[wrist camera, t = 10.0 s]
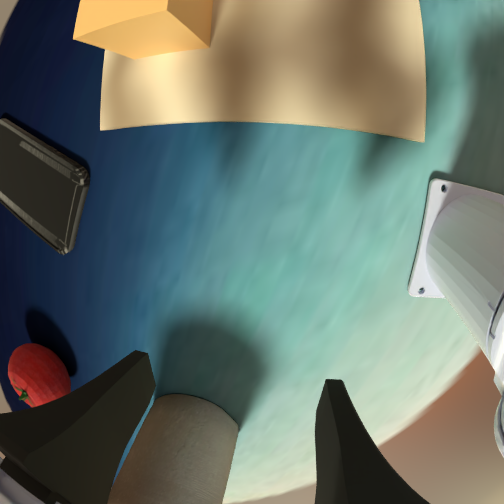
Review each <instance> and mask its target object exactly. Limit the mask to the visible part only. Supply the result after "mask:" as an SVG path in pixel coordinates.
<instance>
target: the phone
mask: <svg viewBox="0 0 504 504" xmlns="http://www.w3.org/2000/svg"><path fill="white" fill-rule="evenodd" d="M89 185H90V177H89V173H88V171H87V170H86V169H85V168H84V167H83V166H82V165H80V164H78V163H77V162H75V161H74V160H72V159H70V158H68V157H67V156H66V155H64V154H63V153H61V152H59V151H57V150H56V149H55V148H53V147H51V146H49V145H47V144H46V143H44V142H43V141H41V140H39V139H38V138H36V137H34V136H33V135H31V134H30V133H28V132H26V131H25V130H23V129H22V128H20V127H18V126H17V125H15V124H14V123H12V122H10V121H9V120H7V119H0V202H1V203H2V204H3V205H4V206H5V207H6V208H7V209H8V210H9V211H10V212H11V213H12V214H13V215H15V216H16V217H17V218H18V219H19V220H20V221H21V222H22V223H24V224H25V225H26V226H27V227H28V228H29V229H30V230H32V231H33V232H34V233H35V234H36V235H37V236H39V237H40V238H41V239H42V240H43V241H45V242H46V243H47V244H48V245H49V246H51V247H52V248H53V249H54V250H56V251H57V252H58V253H60V254H66V253H68V252H70V251H71V250H72V249H73V248H74V245H75V241H76V236H77V232H78V227H79V223H80V219H81V215H82V211H83V207H84V203H85V200H86V196H87V193H88V189H89Z"/></svg>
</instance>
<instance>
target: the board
mask: <svg viewBox="0 0 504 504" xmlns="http://www.w3.org/2000/svg"><path fill="white" fill-rule="evenodd" d="M425 121H426V66H425V49H424V37H423V27H422V19H421V11H420V5H419V0H213V8H212V20H211V34H210V48H205V49H195V50H187V51H179V52H172V53H166V54H160V55H155V56H149V57H144V58H139V59H135V60H134V59H131V58H129V57H126V56H123V55H121V54H118V53H115V52H112V51H109V50H106V49H105V56H104V66H103V77H102V92H101V116H100V130H112V129H120V128H128V127H138V126H148V125H160V124H175V123H195V122H262V123H283V124H298V125H310V126H321V127H330V128H339V129H346V130H354V131H361V132H367V133H374V134H380V135H385V136H391V137H396V138H401V139H406V140H411V141H416V142H424V140H425Z"/></svg>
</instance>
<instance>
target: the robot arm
mask: <svg viewBox="0 0 504 504" xmlns="http://www.w3.org/2000/svg"><path fill="white" fill-rule="evenodd" d="M443 184H444V185H445V190H444V191H441V187H442V185H443ZM422 287H423V289H422V290H421V291H419V289H420V288H422ZM408 293H409V294H410V295H411V296H413V297H431V298H446V299H447V301H448V302H449V303H450V305H451V306H452V307H453V309H454V310H455V311H456V313H457V314H458V316H459V317H460V318H461V320H462V321H463V323H464V324H465V325H466V327H467V328H468V330H469V331H470V333H471V334H472V336H473V337H474V339H475V340H476V342H477V343H478V345H479V346H480V348H481V349H482V351H483V352H484V354H485V355H486V357H487V359H488V360H489V362H490V363H491V365H492V367H493V368H494V370H495V377H494V382H495V384H496V386H497V387H498V390H499V391H500V393H501V395H502V398H501V400H500V402H499V405H498V407H497V410H496V414H495V420H494V434H495V439H496V443H497V445H498V448H499V451H500V452H501V454H502V455H503V457H504V195H502V194H498V193H495V192H491V191H488V190H484V189H480V188H476V187H472V186H468V185H464V184H460V183H456V182H451V181H447V180H442V179H437V178H434V179H432V180H431V181H430V184H429V189H428V196H427V203H426V209H425V215H424V220H423V225H422V231H421V236H420V240H419V245H418V249H417V254H416V258H415V262H414V266H413V270H412V274H411V278H410V281H409V285H408ZM155 387H156V384H155V380H154V376H153V372H152V368H151V364H150V360H149V356H148V353H145V352H141V351H137V350H135V351H133V352H132V353H130V354H129V355H128V356H126V357H125V358H123V359H122V360H121V361H119V362H118V363H117V364H115V365H114V366H112V367H111V368H109V369H108V370H107V371H105V372H104V373H102V374H101V375H99V376H98V377H96V378H95V379H93V380H91V381H90V382H88V383H86V384H85V385H83V386H82V387H80V388H78V389H76V390H74V391H73V392H71V393H69V394H67V395H64V396H62V397H60V398H58V399H55V400H53V401H50V402H48V403H45V404H42V405H39V406H36V407H33V408H29V409H25V410H21V411H16V412H9V413H2V414H0V451H1V452H2V453H3V454H4V455H5V456H6V457H5V458H4V460H3V459H2V458H1V457H0V504H107V503H108V499H109V495H110V491H111V487H112V484H113V480H114V477H115V474H116V471H117V468H118V466H119V463H120V460H121V458H122V455H123V452H124V450H125V448H126V446H127V444H128V442H129V440H130V438H131V436H132V434H133V433H134V431H135V429H136V427H137V425H138V424H139V422H140V420H141V418H142V416H143V414H144V413H145V411H146V409H147V407H148V405H149V403H150V400H151V398H152V395H153V392H154V390H155ZM315 446H316V471H317V486H316V497H315V504H430V503H429V502H427V501H426V500H425V499H423V498H422V497H421V496H420V495H419V494H418V493H417V492H415V491H414V490H413V489H412V488H411V487H410V486H409V485H408V484H407V483H406V482H405V481H404V480H403V479H402V478H401V477H400V476H399V475H398V473H396V471H395V470H394V469H393V468H392V467H391V466H390V464H389V463H388V462H387V460H386V459H385V458H384V457H383V455H382V454H381V452H380V451H379V449H378V448H377V446H376V445H375V443H374V442H373V440H372V439H371V437H370V435H369V434H368V432H367V430H366V429H365V427H364V425H363V423H362V421H361V419H360V418H359V416H358V414H357V412H356V410H355V408H354V406H353V404H352V401H351V399H350V397H349V395H348V392H347V390H346V388H345V385H344V382H343V381H342V380H335V379H326V381H325V384H324V387H323V391H322V394H321V397H320V400H319V404H318V407H317V410H316V423H315Z"/></svg>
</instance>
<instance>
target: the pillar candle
mask: <svg viewBox="0 0 504 504" xmlns="http://www.w3.org/2000/svg"><path fill="white" fill-rule="evenodd" d="M238 431H239V429H238V425H237V423H236V422H235V421H234V420H233V419H232V418H231V417H230V416H229V415H228V414H227V413H226V412H225V411H224V410H223V409H221V408H220V407H218V406H217V405H215V404H213V403H211V402H209V401H206V400H204V399H200V398H197V397H194V396H189V395H183V394H170V395H165V396H162V397H159V398H157V399H156V400H155V401H154V403H153V405H152V407H151V409H150V411H149V413H148V415H147V416H146V418H145V420H144V422H143V424H142V426H141V428H140V430H139V432H138V434H137V436H136V438H135V441H134V443H133V445H132V447H131V449H130V451H129V453H128V455H127V457H126V459H125V461H124V463H123V466H122V468H121V470H120V472H119V474H118V476H117V478H116V480H115V482H114V485H113V487H112V489H111V491H110V495H109V499H108V503H107V504H222V501H223V497H224V493H225V489H226V485H227V481H228V477H229V473H230V469H231V464H232V459H233V455H234V450H235V446H236V441H237V437H238Z"/></svg>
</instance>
